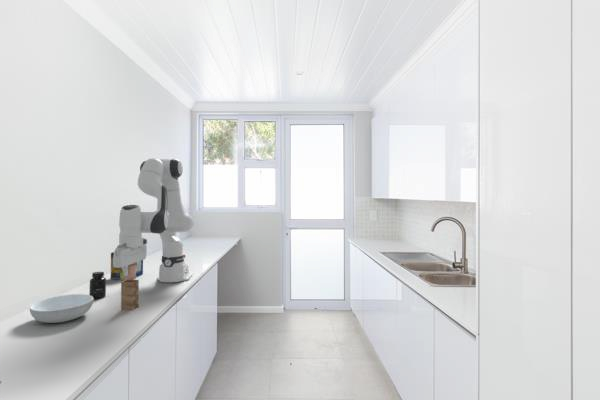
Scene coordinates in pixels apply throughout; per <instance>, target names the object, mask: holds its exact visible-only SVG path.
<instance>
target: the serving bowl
mask: <svg viewBox="0 0 600 400" xmlns="http://www.w3.org/2000/svg"><path fill="white" fill-rule="evenodd" d="M94 300H95V299H94V298H93V297H92V296H90V295H89V294H84V293H82V294H81V293H79V294H78V293H76V294H75V293H73V294H65V295H58V296H57V295H56V296H52V297H48V298H44V299H41V300H38V301H36V302H34V303H32V304H31V305H29V312H30V313H29V314H30V315H31V317H32V318H33V319H34V320H36V321H38V322H41V323H48V324H56V323H57V324H59V323H65V322H70V321H72V320H75V319H77V318H80V317H82V316H83V315H85V314H86V313H88V311H90V310H91V308H92V307H93V303H94Z"/></svg>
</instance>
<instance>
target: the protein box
mask: <svg viewBox="0 0 600 400" xmlns="http://www.w3.org/2000/svg"><path fill="white" fill-rule="evenodd" d="M113 255H114V251H113V252H110V279H111V280H121V281H125V280H124V275H123V270H122V268H114V267H113ZM142 274H144V260H141V261H139V264H138V267H137V272H136V276H137V277H140V276H142ZM139 275H140V276H139Z"/></svg>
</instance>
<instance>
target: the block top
mask: <svg viewBox="0 0 600 400" xmlns="http://www.w3.org/2000/svg"><path fill="white" fill-rule="evenodd" d="M139 281H140V280H139V279H133V280H122V281H121V283H120V284H121V287H120V290H121V291H122V292H133V291H135V290H137V289H139V287H140V285H139V284H140V282H139ZM139 290H140V289H139ZM121 291H120V292H121Z"/></svg>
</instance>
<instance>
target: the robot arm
mask: <svg viewBox="0 0 600 400" xmlns="http://www.w3.org/2000/svg"><path fill="white" fill-rule="evenodd" d="M139 171H140V172H139V175H138V178H137V186H138V189H139V190H140V191H141V192H142V193H143V194H146V195H147V196H151V197H154V198H156V199H157V203H156V204H157V208H156V210H155V211H142V210H141V206H140V205H137V204H129V205H123V206H121V208H120V212H119V222H118V226H119V234H118V236H119V237H118V244H117V247H115V249H114V251H113V252H114V255H113V267H114V268H122V270H123V275H124V276H127V275H129V271H128V265H130V264H136V272H137V267H138V264H139V261H141V260H143V261H144V260H146V259H147V251H148V249H147V248H148V247H147V245H148V239H147V238H144V237H142V235H143V234H151V233H152V234H158V235H159V236H160V239H161V244H162V255H161V264H160V265H159V270H158V277H156V280H157V281H159V282H161V283H179V282H185V281H189V280H190V279H191V278H192V277H193V275H194V274H193V273H192V272H189V271H190V267H189V265H188V264H187V263H186V262H185V258H186V254H183V253H184V252H183V250H184V248H183V246H184V244H183V241H182V239H181V238H179V237H178V234H177V233H180V234H181V233H182V234H183V233H187V232H190V231H191V230H192V229H193V226H194V220H193V217H192V216H191V215H190V214H189V213H188V212H187V210H186V209H185V208H184V207H185V206H184V205H183V203H182V196H181V189H180V182H179V178H180V177H181V176H182V174H183V164H182V161H180V160H179V159H176V158H159V159H158V158H154V157H153V158H148V159H147V160H144V161H142V162H141V164H140V167H139Z"/></svg>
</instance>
